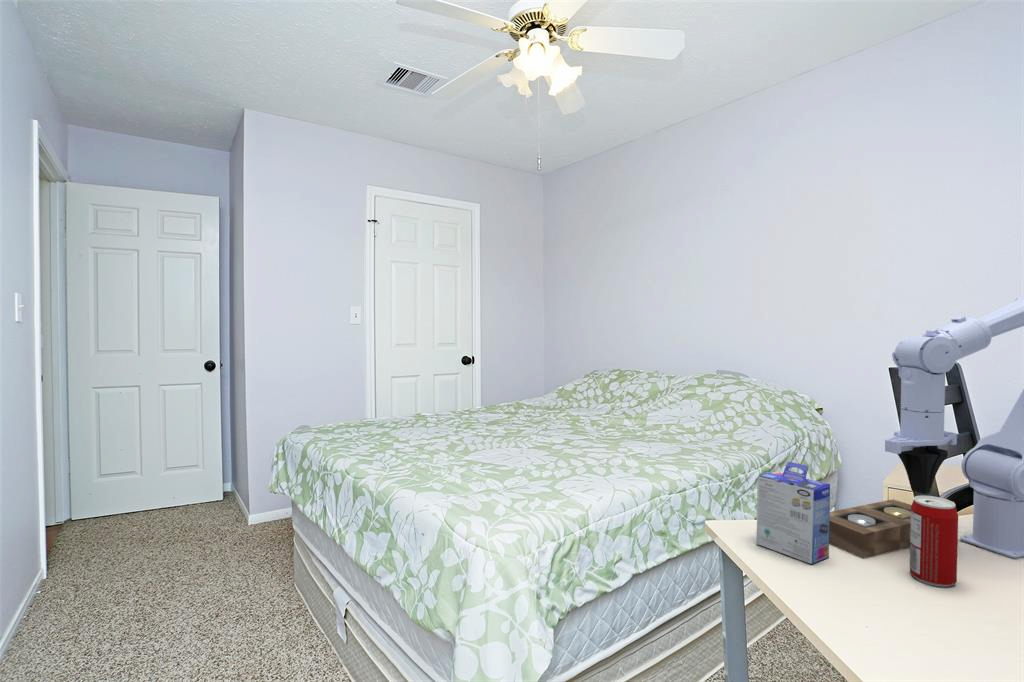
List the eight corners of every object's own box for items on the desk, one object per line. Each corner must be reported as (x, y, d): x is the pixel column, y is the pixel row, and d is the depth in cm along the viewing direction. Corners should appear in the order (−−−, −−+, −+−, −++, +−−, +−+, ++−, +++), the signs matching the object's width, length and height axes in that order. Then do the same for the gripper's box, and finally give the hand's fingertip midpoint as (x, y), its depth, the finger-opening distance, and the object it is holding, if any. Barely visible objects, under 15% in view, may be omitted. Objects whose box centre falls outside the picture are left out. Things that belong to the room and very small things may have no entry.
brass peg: (893, 525, 99) (893, 505, 99) (916, 533, 96) (916, 513, 95) (878, 529, 98) (878, 508, 98) (900, 537, 94) (901, 516, 94)
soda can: (966, 586, 78) (968, 504, 78) (933, 590, 78) (935, 507, 77) (931, 568, 84) (933, 491, 83) (900, 571, 83) (901, 494, 82)
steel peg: (858, 533, 96) (858, 513, 96) (880, 542, 92) (881, 521, 92) (842, 537, 95) (842, 516, 95) (864, 546, 91) (864, 524, 91)
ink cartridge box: (831, 557, 88) (832, 469, 88) (813, 566, 85) (814, 475, 84) (773, 537, 96) (773, 456, 96) (755, 544, 93) (755, 461, 93)
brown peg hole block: (892, 519, 103) (893, 499, 103) (945, 538, 95) (945, 515, 94) (814, 537, 96) (814, 514, 96) (863, 558, 88) (863, 534, 87)
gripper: (925, 402, 95) (924, 479, 96) (867, 409, 90) (865, 490, 91) (971, 409, 88) (969, 491, 89) (911, 416, 83) (909, 503, 84)
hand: (920, 491), depth 89 cm, fingers closed
